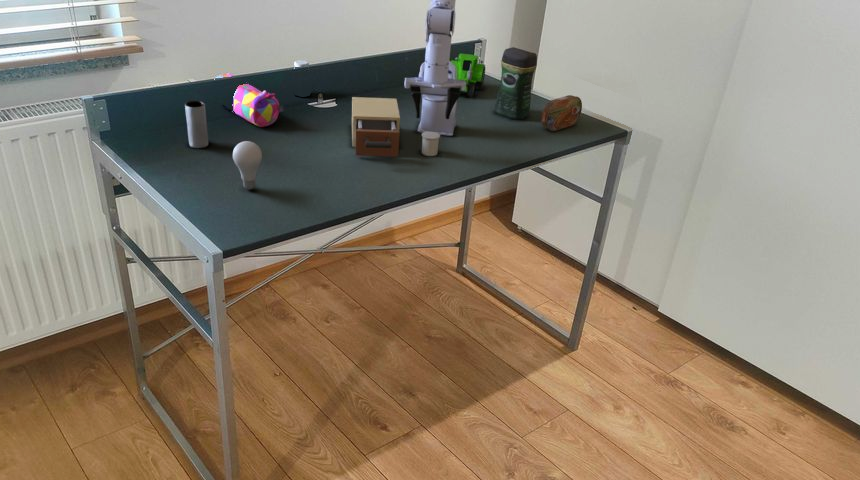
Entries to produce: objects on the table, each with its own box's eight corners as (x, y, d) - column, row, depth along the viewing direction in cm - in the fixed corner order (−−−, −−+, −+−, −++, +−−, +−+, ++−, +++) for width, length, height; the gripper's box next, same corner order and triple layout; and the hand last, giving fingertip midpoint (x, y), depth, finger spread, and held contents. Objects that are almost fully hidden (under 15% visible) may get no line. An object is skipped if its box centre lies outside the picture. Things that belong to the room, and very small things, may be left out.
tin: (545, 134, 200) (550, 104, 196) (537, 130, 202) (542, 100, 197) (579, 123, 209) (585, 94, 204) (571, 119, 211) (576, 91, 206)
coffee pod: (439, 150, 185) (440, 132, 183) (437, 157, 182) (439, 139, 179) (421, 148, 186) (422, 130, 183) (419, 155, 182) (420, 137, 179)
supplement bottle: (306, 90, 215) (306, 58, 210) (314, 96, 212) (314, 63, 206) (289, 93, 213) (288, 60, 207) (297, 99, 209) (297, 65, 204)
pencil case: (286, 123, 193) (285, 90, 188) (257, 131, 187) (255, 97, 182) (237, 100, 205) (235, 68, 200) (208, 107, 199) (205, 74, 194)
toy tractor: (442, 96, 220) (445, 63, 214) (450, 79, 233) (453, 48, 228) (478, 100, 219) (482, 67, 213) (483, 84, 232) (487, 52, 227)
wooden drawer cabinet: (398, 148, 185) (400, 117, 180) (352, 146, 183) (353, 116, 179) (394, 127, 196) (396, 98, 192) (351, 126, 195) (352, 96, 190)
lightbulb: (237, 182, 162) (233, 136, 156) (264, 183, 163) (262, 137, 157) (233, 195, 157) (229, 147, 151) (262, 195, 158) (259, 148, 152)
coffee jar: (533, 116, 211) (543, 51, 201) (517, 122, 206) (527, 56, 196) (506, 106, 216) (515, 43, 206) (490, 112, 211) (498, 47, 201)
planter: (212, 143, 179) (208, 103, 173) (200, 149, 175) (196, 108, 170) (197, 139, 180) (193, 99, 175) (185, 145, 177) (180, 104, 171)
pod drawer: (399, 165, 174) (401, 140, 171) (355, 164, 173) (356, 139, 169) (394, 136, 188) (396, 113, 185) (354, 135, 187) (355, 112, 184)
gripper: (407, 65, 167) (404, 122, 174) (470, 68, 169) (463, 124, 176) (405, 56, 173) (402, 111, 180) (465, 59, 174) (459, 113, 182)
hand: (432, 117), depth 179 cm, fingers open, 7 cm apart
